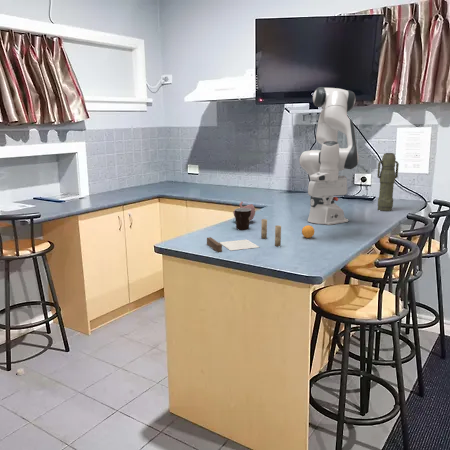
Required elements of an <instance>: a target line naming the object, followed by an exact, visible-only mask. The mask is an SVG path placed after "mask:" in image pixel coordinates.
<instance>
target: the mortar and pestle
mask: <svg viewBox="0 0 450 450" xmlns="http://www.w3.org/2000/svg"><path fill="white" fill-rule="evenodd" d="M243 204H244V201H240V202H239V208H248V209H251V215H250V222H251V221H252V220H253V219H254V217H255V215H256V207H255V205H254V204H252V203H251V204H247V205H245V206H243ZM232 214H233V216H234V217H235V210H234V211H233V212H232Z"/></svg>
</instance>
